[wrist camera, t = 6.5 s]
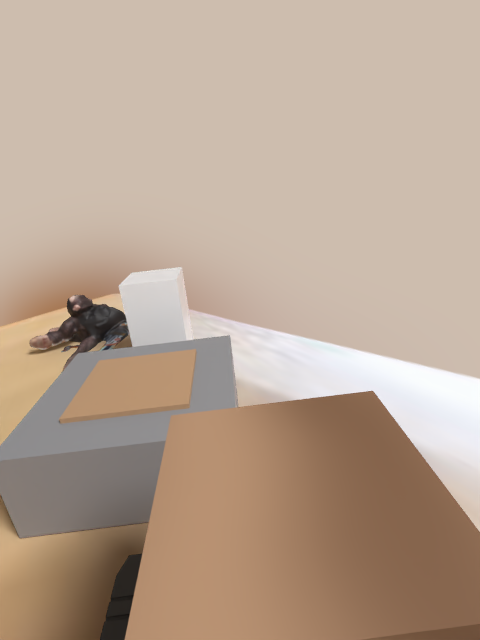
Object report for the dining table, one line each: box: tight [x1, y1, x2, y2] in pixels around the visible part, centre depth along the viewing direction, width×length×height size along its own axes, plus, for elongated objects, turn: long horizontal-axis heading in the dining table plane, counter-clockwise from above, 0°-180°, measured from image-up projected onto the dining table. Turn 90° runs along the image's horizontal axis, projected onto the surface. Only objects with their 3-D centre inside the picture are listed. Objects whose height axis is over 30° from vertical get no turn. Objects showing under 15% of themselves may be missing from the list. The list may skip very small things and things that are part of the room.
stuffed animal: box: [30, 295, 129, 369], centre depth 45 cm, size 12×10×12 cm
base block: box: [0, 336, 238, 538], centre depth 24 cm, size 12×12×5 cm
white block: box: [119, 267, 193, 347], centre depth 35 cm, size 5×5×9 cm
